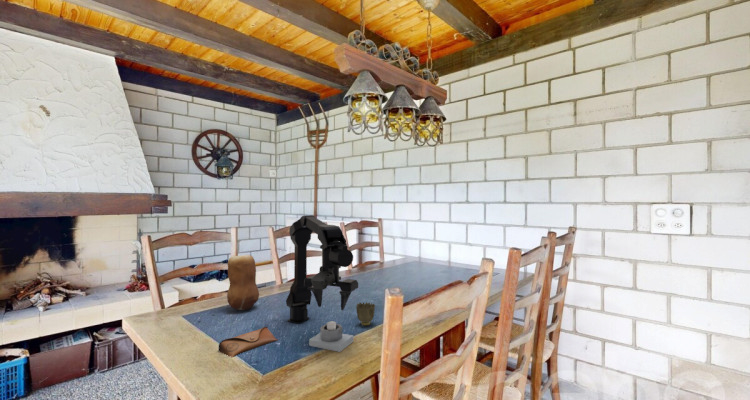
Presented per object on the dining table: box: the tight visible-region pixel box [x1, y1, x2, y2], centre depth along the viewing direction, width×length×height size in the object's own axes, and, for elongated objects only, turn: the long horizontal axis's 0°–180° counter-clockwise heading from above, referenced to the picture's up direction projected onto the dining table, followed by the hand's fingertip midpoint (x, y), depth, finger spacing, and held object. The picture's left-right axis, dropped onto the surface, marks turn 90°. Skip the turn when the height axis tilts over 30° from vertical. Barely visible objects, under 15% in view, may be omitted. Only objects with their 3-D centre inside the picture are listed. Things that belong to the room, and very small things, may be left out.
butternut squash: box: [226, 254, 260, 311], centre depth 151 cm, size 14×13×25 cm
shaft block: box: [308, 320, 354, 353], centre depth 113 cm, size 12×9×7 cm
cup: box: [355, 301, 376, 327], centre depth 130 cm, size 8×7×8 cm
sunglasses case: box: [218, 326, 279, 358], centre depth 113 cm, size 18×7×7 cm
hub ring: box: [319, 323, 343, 342], centre depth 113 cm, size 7×7×4 cm
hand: (330, 308), depth 114 cm, fingers open, 9 cm apart
